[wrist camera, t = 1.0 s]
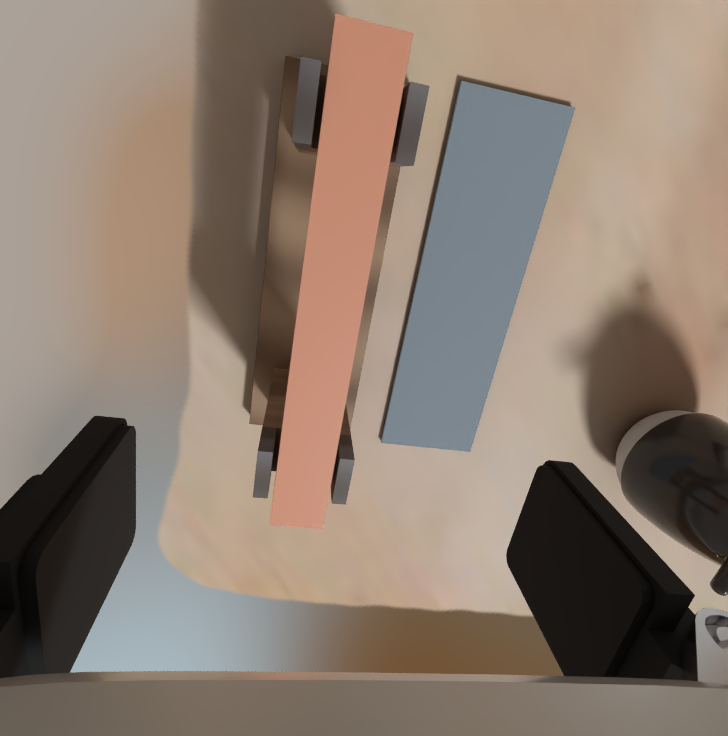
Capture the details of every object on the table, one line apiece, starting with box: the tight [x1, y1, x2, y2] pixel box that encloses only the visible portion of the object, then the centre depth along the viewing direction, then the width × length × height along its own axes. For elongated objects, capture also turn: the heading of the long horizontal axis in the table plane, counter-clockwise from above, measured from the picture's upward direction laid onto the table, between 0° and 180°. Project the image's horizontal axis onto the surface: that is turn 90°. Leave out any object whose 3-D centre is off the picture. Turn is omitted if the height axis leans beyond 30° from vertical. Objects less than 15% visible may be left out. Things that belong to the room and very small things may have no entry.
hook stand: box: [249, 56, 429, 504], centre depth 28 cm, size 25×8×13 cm, turn 170°
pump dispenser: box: [616, 410, 728, 596], centre depth 36 cm, size 10×10×15 cm
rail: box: [270, 14, 413, 529], centre depth 23 cm, size 24×3×3 cm, turn 170°
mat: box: [381, 81, 575, 452], centre depth 35 cm, size 27×8×1 cm, turn 170°
